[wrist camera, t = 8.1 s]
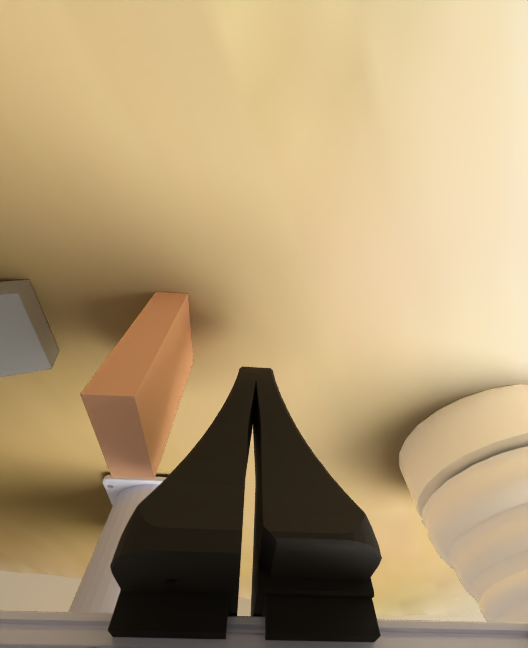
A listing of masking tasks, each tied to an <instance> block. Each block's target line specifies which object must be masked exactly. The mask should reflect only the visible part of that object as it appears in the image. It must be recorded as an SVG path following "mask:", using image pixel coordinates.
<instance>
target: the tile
mask: <svg viewBox="0 0 528 648" xmlns="http://www.w3.org/2000/svg"><path fill="white" fill-rule="evenodd" d="M192 364H193V350H192V338H191V326H190V314H189V302H188V294H184V293H167V292H155V294H154V295H153V296H152V298H151V299H150V300H149V302H148V303H147V305H146V306H145V307H144V309H143V310H142V311H141V313H140V314H139V315H138V317H137V318H136V319H135V321H134V322H133V323H132V325H131V326H130V327H129V329H128V330H127V332H126V333H125V334H124V336H123V337H122V338H121V340H120V341H119V342H118V344H117V345H116V346H115V348H114V349H113V350H112V352H111V353H110V354H109V356H108V357H107V358H106V360H105V361H104V363H103V364H102V365H101V367H100V368H99V369H98V371H97V372H96V373H95V375H94V376H93V377H92V379H91V380H90V381H89V383H88V384H87V385H86V387H85V388H84V389H83V391H82V392H81V394H80V395H81V397H82V400H83V403H84V405H85V408H86V410H87V413H88V416H89V418H90V421H91V424H92V426H93V429H94V431H95V434H96V437H97V439H98V442H99V445H100V447H101V450H102V452H103V455H104V458H105V460H106V463H107V466H108V468H109V471H110V473H111V476H112V477H121V478H146V479H155V476H156V473H157V470H158V467H159V464H160V461H161V458H162V455H163V452H164V449H165V446H166V443H167V440H168V437H169V434H170V431H171V428H172V424H173V421H174V418H175V415H176V412H177V409H178V406H179V403H180V400H181V397H182V394H183V391H184V388H185V385H186V382H187V379H188V376H189V373H190V370H191V367H192Z"/></svg>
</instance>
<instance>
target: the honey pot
mask: <svg viewBox="0 0 528 648" xmlns="http://www.w3.org/2000/svg"><path fill="white" fill-rule="evenodd" d="M399 468H400V470H401V472H402V475H403V477H404V480H405V482H406V484H407V487H408V489H409V492H410V494H411V496H412V499H413V501H414V504H415V506H416V508H417V511H418V513H419V514H420V516H421V518H422V522H423V524H424V526H425V528H426V529H427V532H428V536H429V539H430V541H431V543H432V544H433V546H434V548H435V549H436V551H437V553H438V554H439V556H440V558H441V559H442V560H443V561H444V562H445V563H447V564H448V565H449V566H450V567H451V568H453V569H454V570H455V572H456V575H457V577H458V578H459V580H460V582H461V584H462V585H463V587H464V589H465V590H466V591H467V592H468V593H469V594H470V595H471V596H472V597H473V598H475V600H476V601H477V603H478V604H479V607H480V610H481V612H482V614H483V616H484V618H485V620H486V621H487V622H510V623H528V384H517V385H511V386H505V387H499V388H493V389H488V390H485V391H482V392H479V393H476V394H473V395H470V396H467V397H464V398H461V399H459V400H457V401H455V402H453V403H451V404H449V405H447V406H445V407H443V408H442V409H440V410H438V411H436V412H435V413H433V414H432V415H431V416H429V417H428V418H427V419H425V420H424V421H423V422H421V423H420V424H419V425H417V427H416V428H415V429H414V430H413V431H412V433H411V434H410V435H409V436H408V437H407V438H406V440H405V441H404V444H403V446H402V448H401V451H400V453H399Z"/></svg>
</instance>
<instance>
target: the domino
mask: <svg viewBox="0 0 528 648" xmlns="http://www.w3.org/2000/svg"><path fill="white" fill-rule="evenodd" d="M58 353H59V350H58V347H57V345H56V342H55V340H54V337H53V335H52V333H51V330H50V328H49V325H48V323H47V321H46V318H45V316H44V313H43V311H42V309H41V306H40V304H39V301H38V299H37V296H36V294H35V292H34V289H33V287H32V284H31V282H30V280H17V281H3V282H0V377H3V376H9V375H16V374H22V373H28V372H35V371H41V370H47V369H52V367H53V365H54V362H55V360H56V357H57V355H58Z"/></svg>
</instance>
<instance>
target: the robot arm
mask: <svg viewBox="0 0 528 648" xmlns="http://www.w3.org/2000/svg"><path fill="white" fill-rule="evenodd" d="M252 426H253V435H254V455H255V476H256V489H255V518H254V546H253V572H252V597H251V616H249V617H248V616H237V608H238V592H239V576H240V560H241V543H242V525H243V508H244V490H245V477H246V469H247V462H248V455H249V448H250V441H251V434H252ZM102 482H103V485H104V487H105V489H106V492H107V494H108V497H109V499H110V501H111V504H112V506H113V507H112V509H111V512H110V514H109V516H108V519H107V521H106V523H105V526H104V528H103V531H102V533H101V535H100V538H99V540H98V542H97V545H96V547H95V550H94V552H93V554H92V557H91V559H90V562H89V564H88V566H87V569H86V571H85V573H84V576H83V578H82V581H81V583H80V586H79V588H78V590H77V592H76V595H75V597H74V600H73V602H72V605H71V607H70V609H69V612H37V611H0V648H528V623H510V622H467V621H423V620H380V619H377V618H376V614H375V609H374V605H373V601H372V598H373V597H374V590H373V586H372V582H371V578H370V577H371V576H372V574H373V573H374V571H375V570H376V569H377V567H378V566H379V564H380V561H381V559H382V557H381V554H380V549H379V545H378V542H377V540H376V537H375V535H374V532H373V530H372V527H371V525H370V523H369V520H368V518H367V516H366V514H365V513H364V512H363V511H362V510H361V509H360V508H359V507H358V506H357V504H356V503H355V502H354V501H353V500H352V499H351V498H350V497H349V496H348V495H347V494H346V493H345V492H344V491H343V489H342V488H341V487H340V486H339V485H338V484H337V482H336V481H335V480H334V479H333V478H332V477H331V475H330V474H329V473H328V471H327V470H326V469H325V468H324V466H323V465H322V464H321V462H320V461H319V460H318V459H317V457H316V456H315V455H314V453H313V452H312V450H311V449H310V447H309V446H308V444H307V443H306V441H305V440H304V438H303V437H302V435H301V433H300V432H299V430H298V428H297V427H296V425H295V423H294V421H293V419H292V418H291V416H290V414H289V412H288V410H287V408H286V406H285V403H284V401H283V399H282V397H281V394H280V392H279V389H278V387H277V384H276V381H275V378H274V374H273V370H272V369H271V368H255V367H241V368H240V369H239V373H238V376H237V379H236V381H235V384H234V386H233V388H232V390H231V392H230V394H229V396H228V398H227V400H226V402H225V403H224V405H223V407H222V408H221V410H220V412H219V413H218V415H217V416H216V418H215V420H214V421H213V423H212V424H211V426H210V427H209V428H208V430H207V431H206V433H205V434H204V435H203V437H202V438H201V439H200V441H199V442H198V443H197V444H196V445H195V447H194V448H193V449H192V450H191V452H190V453H189V454H188V455H187V456H186V457H185V459H184V460H183V461H182V462H181V463H180V464H179V465H178V466H177V467H176V468H175V469H174V470H173V471H172V473H171V474H170V475H169V476H168V477H155V479H146V478H121V477H112V476H111V475H107V476H105V477H104V479H103V481H102Z"/></svg>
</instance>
